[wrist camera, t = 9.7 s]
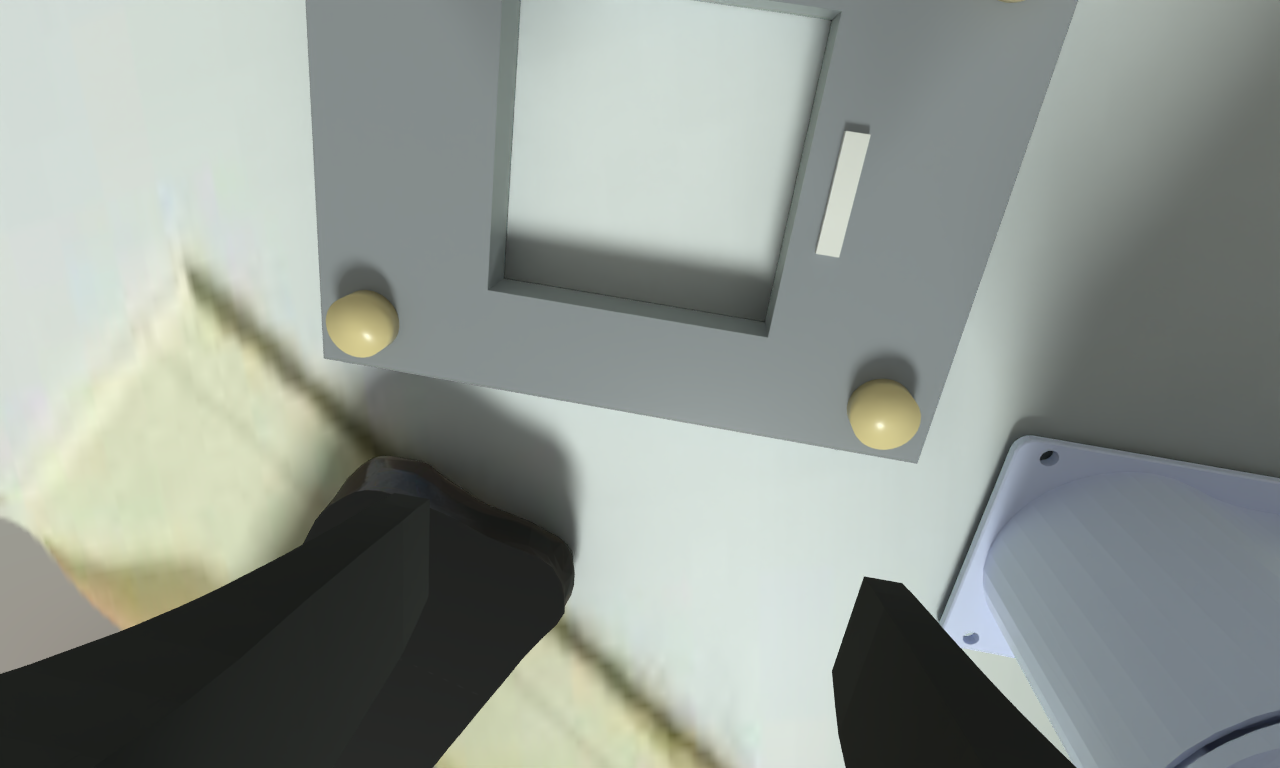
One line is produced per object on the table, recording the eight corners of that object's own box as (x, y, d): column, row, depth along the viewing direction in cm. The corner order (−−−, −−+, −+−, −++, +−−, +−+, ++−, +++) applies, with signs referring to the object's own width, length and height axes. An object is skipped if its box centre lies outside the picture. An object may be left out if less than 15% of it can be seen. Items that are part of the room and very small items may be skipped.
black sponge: (400, 408, 23) (343, 459, 19) (604, 538, 24) (584, 609, 20) (243, 680, 29) (178, 755, 25) (410, 774, 30) (370, 859, 26)
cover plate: (1083, -97, 15) (1141, -132, 13) (903, 440, 20) (924, 477, 18) (330, -195, 16) (271, -243, 14) (349, 342, 21) (308, 367, 19)
